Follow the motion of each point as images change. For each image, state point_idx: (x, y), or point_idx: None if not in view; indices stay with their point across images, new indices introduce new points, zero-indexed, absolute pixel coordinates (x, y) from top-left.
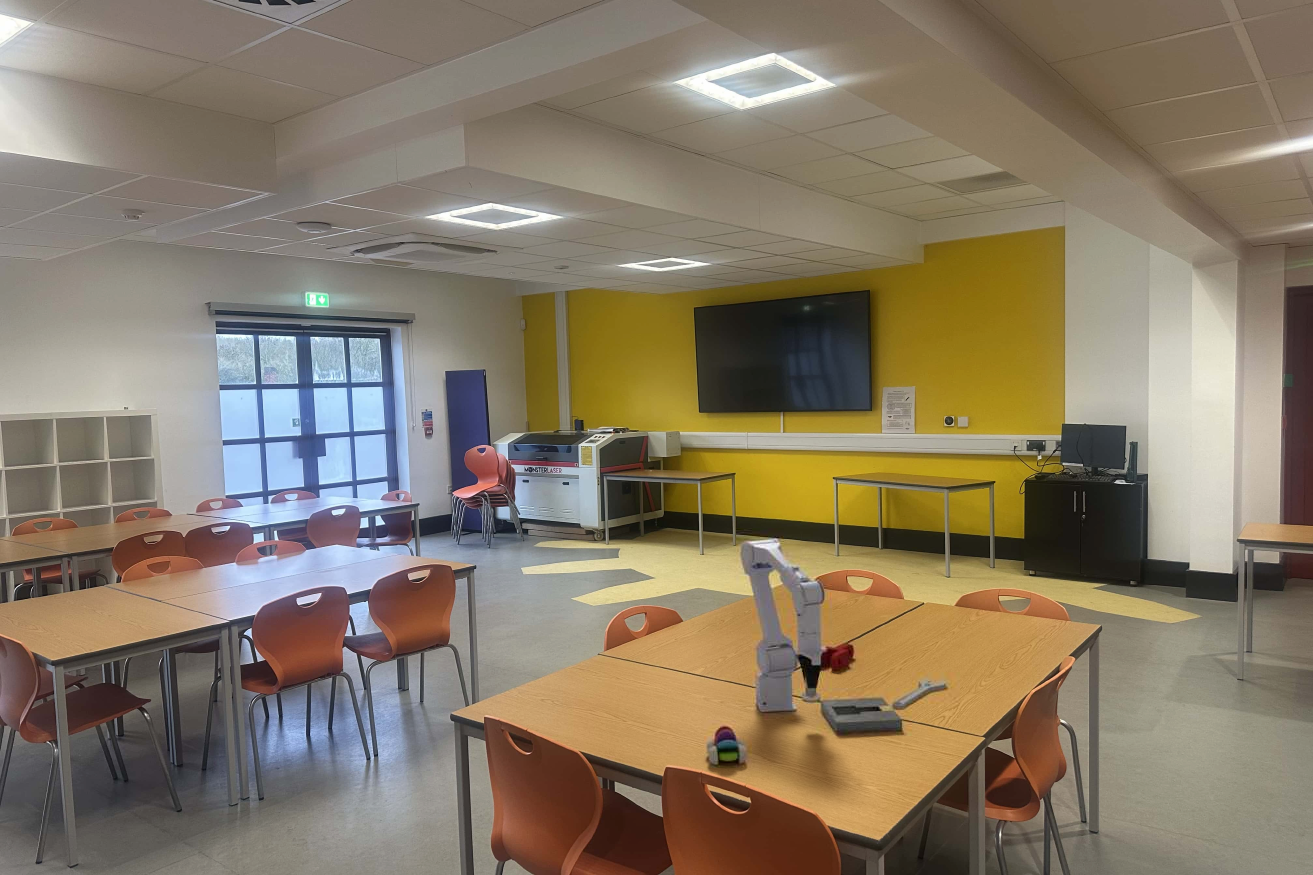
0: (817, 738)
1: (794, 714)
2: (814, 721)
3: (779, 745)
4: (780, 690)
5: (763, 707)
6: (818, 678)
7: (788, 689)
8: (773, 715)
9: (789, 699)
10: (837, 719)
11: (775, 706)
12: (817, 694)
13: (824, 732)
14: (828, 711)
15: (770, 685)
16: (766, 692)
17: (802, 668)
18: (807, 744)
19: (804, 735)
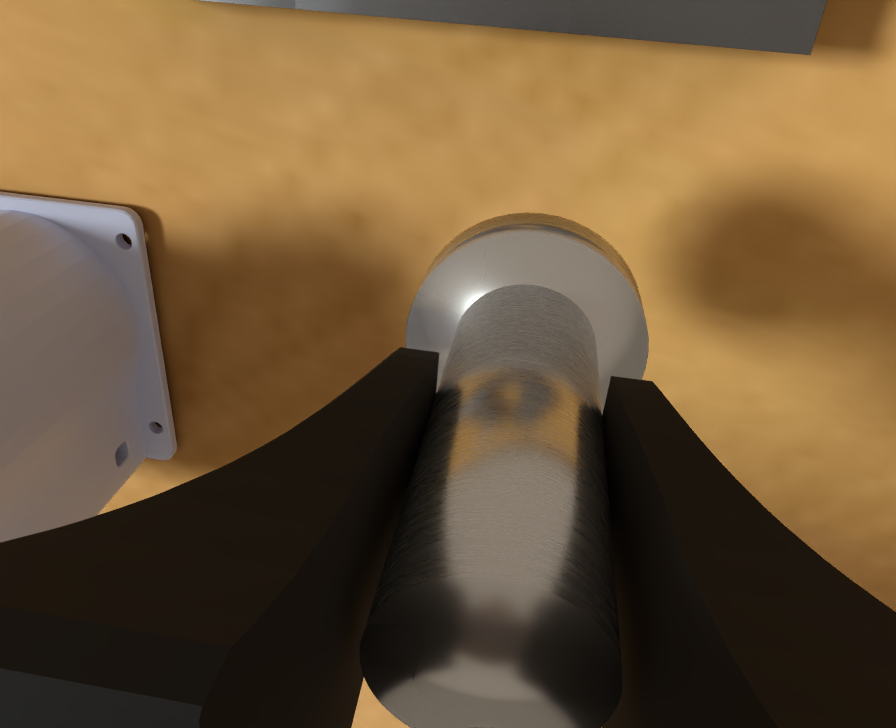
0: (788, 251)
1: (223, 251)
2: (402, 142)
3: (789, 528)
4: (48, 411)
5: (140, 445)
6: (716, 459)
7: (6, 334)
8: (236, 396)
9: (62, 283)
10: (716, 3)
11: (129, 374)
12: (534, 267)
13: (682, 145)
14: (436, 20)
15: (20, 509)
16: (68, 497)
17: (359, 691)
18: (869, 365)
19: (683, 325)
